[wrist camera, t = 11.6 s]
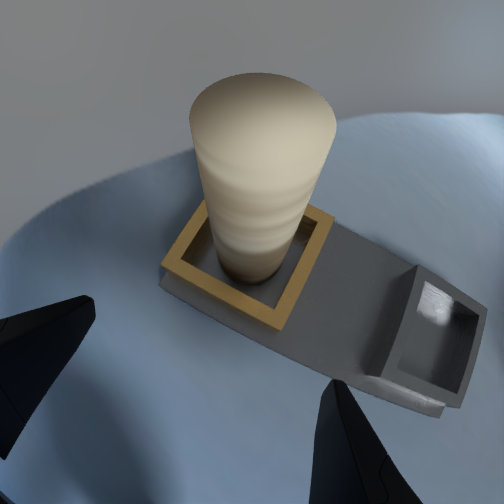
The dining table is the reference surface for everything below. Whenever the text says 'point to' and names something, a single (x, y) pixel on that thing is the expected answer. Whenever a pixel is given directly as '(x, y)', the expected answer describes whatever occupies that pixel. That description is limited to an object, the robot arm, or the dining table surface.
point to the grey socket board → (341, 311)
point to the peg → (258, 166)
